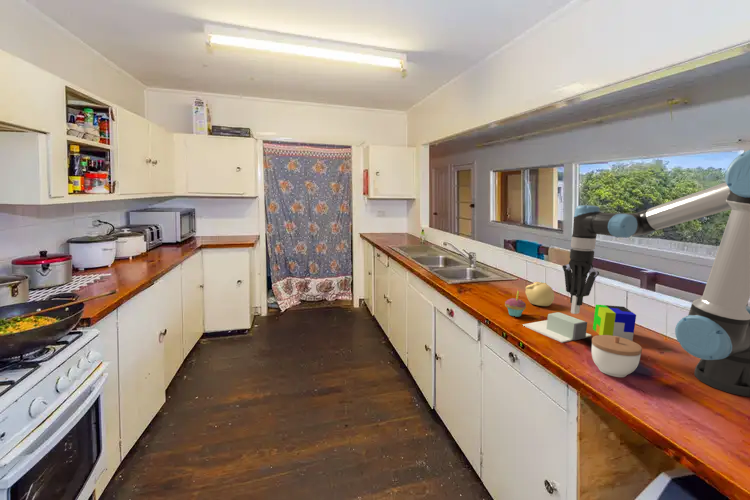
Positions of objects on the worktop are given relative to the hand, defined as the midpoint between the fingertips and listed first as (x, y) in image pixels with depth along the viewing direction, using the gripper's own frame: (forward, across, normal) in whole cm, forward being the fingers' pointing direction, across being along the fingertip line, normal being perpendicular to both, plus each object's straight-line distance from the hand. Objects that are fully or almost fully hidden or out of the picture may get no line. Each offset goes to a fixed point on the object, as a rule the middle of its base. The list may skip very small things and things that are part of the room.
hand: (574, 312), depth 138 cm
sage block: (+6, -3, 0) cm, 7 cm away
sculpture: (+10, +34, -22) cm, 42 cm away
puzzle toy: (+10, -4, -17) cm, 20 cm away
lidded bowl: (+10, -23, +13) cm, 28 cm away
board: (+9, +7, 0) cm, 12 cm away
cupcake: (+10, +27, +1) cm, 29 cm away
